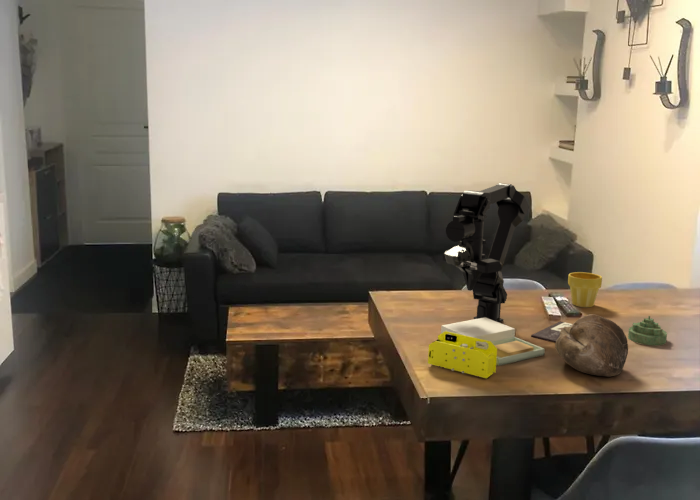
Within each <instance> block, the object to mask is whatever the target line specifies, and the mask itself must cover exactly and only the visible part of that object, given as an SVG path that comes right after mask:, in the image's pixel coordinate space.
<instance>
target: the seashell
mask: <svg viewBox="0 0 700 500" xmlns="http://www.w3.org/2000/svg"><path fill="white" fill-rule="evenodd" d="M571 324H572V326H571V327H564V328H563V329H562V330H561V331H560V336H559V338H558V339H557V340H556V343H554V344H555V350H556V352H557V354H558V355H559V356H560V357H561V358H562V360H564V362H566V364H567V365H569V366H570V367H571V368H573V369H574V370H576V371H578V372H581V373H583V374H587V375H592V376H598V377H599V376H600V377H605V378H607V377H609V378H610V377H613V376H618V375H619V374H622V371H623V369H624V366H625V364H626V361H627V358H628V353H629V345H628V337H627V336H626V334H625V332H624V330H623V328H622V327H620V325H618V324H617V323H616V322H614V321H613V320H611V319H608V318H606V317H603V316H600V315H599V314H595V313H593V314H591V313H590V314H587V315H584V316H582V317H580V318H578V319H577V320H576V321H574V322H573V323H571Z"/></svg>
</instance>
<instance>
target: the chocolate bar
mask: <svg viewBox="0 0 700 500" xmlns="http://www.w3.org/2000/svg"><path fill="white" fill-rule="evenodd" d="M572 324H573V323H569V322H565V321H558V322H557V323H554V324H552V325H550V326H547V327H545V328H543V329H541V330H539V331H537V332H535V333H533V334H530V337H531V338H535V339H538V340H543V341H547V342H551V343H554V344H556V340H557V339H558V338H559V336H560V331H561V330H562V329H563V328H564V327H571V326H572Z"/></svg>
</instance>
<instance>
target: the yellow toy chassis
mask: <svg viewBox="0 0 700 500" xmlns="http://www.w3.org/2000/svg"><path fill="white" fill-rule="evenodd" d="M449 334H451V335H449ZM448 338H449V339H448ZM451 338H452V339H451ZM484 342H487V343H484ZM482 345H483V346H482ZM427 349H428V352H427V353H428V355H427V364H429V365H433V366H436V367H439V366H440V367H439V368H442V367H444V368H443V369H449V370H451V371H452V372H454V371H456V372H461V374H468V375H471V376H475V377H478V376H479V377H478V378H483V379H488V378H489V377H490V376H492V375H493V374H494V373H497V372H496V371H497V365H496V360H497V348H496V347H495V346H494V345H493V343H492V342H491V341H487V340H483V339H478V338H474V337H469V336H465V335H460V334H456V333H451V332H447V331H445V332H443V333H441V332H440V334H438V335H437V339H435V340H433V341H432V342H431V343H429V344H428V348H427Z"/></svg>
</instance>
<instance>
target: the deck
mask: <svg viewBox="0 0 700 500" xmlns="http://www.w3.org/2000/svg"><path fill="white" fill-rule="evenodd" d="M440 327H441V328H440V334H441V333H443V332H445V331H447V332H451V333H456V334H460V335H465V336H469V337H474V338H478V339H483V340H487V341H491V342H493V341H497V340H502V339H507V338H512V337H516V336H515V335H516V328H514V327H512V326H509V325H506V324H504V323H501V322H496V321H494V320H491V319H488V318H486V317H484V318H479V319H474V318H473V319H469V320H464V321H457V322H453V323H448V324H441V326H440ZM449 335H451V334H449ZM448 339H449V338H448ZM451 339H452V338H451ZM484 343H487V342H484Z"/></svg>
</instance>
